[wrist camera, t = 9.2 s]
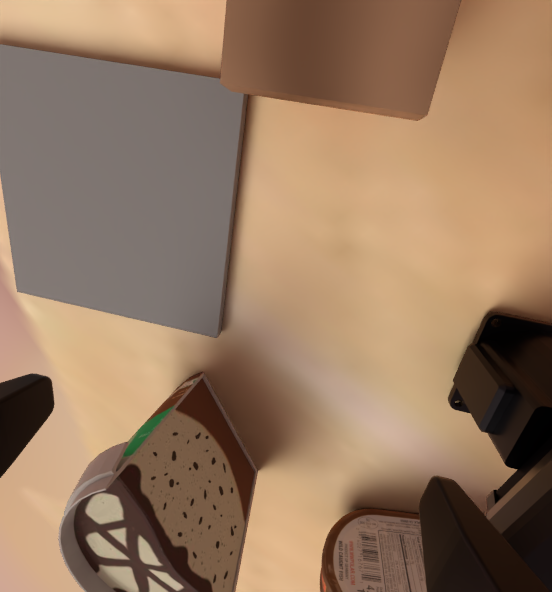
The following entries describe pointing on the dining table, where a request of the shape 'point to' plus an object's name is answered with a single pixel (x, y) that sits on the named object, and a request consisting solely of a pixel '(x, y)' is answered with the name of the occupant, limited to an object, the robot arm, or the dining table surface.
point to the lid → (339, 52)
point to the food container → (164, 503)
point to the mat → (120, 185)
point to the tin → (374, 553)
